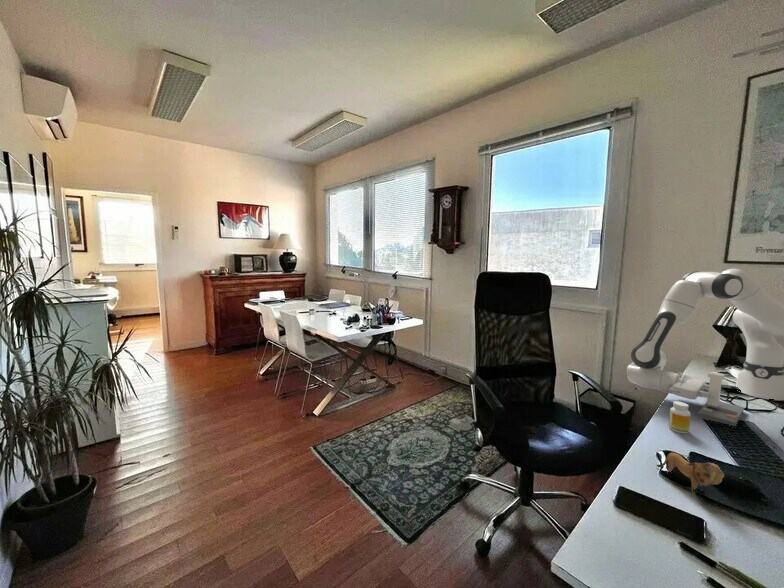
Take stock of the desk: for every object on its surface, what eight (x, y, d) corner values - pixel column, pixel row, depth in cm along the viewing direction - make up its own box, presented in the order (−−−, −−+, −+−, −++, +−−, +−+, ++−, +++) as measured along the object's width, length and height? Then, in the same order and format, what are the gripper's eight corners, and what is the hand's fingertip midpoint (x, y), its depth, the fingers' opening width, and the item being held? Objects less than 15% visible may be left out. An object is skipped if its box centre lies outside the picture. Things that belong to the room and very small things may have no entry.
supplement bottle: (692, 434, 114) (695, 407, 113) (674, 433, 115) (677, 406, 114) (682, 426, 119) (684, 401, 118) (665, 425, 120) (667, 399, 119)
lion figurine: (726, 500, 82) (729, 466, 82) (712, 505, 81) (716, 471, 80) (662, 465, 96) (665, 436, 95) (649, 469, 95) (652, 439, 94)
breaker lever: (706, 403, 132) (710, 371, 131) (720, 407, 129) (724, 374, 128) (704, 405, 130) (708, 373, 129) (718, 409, 127) (722, 376, 126)
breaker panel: (708, 403, 138) (709, 398, 138) (743, 412, 130) (743, 407, 130) (697, 417, 126) (698, 411, 126) (735, 427, 118) (735, 422, 118)
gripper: (665, 381, 133) (712, 392, 122) (678, 371, 145) (722, 380, 134) (664, 396, 133) (711, 408, 123) (677, 384, 146) (721, 395, 135)
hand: (717, 393), depth 129 cm, fingers open, 7 cm apart
